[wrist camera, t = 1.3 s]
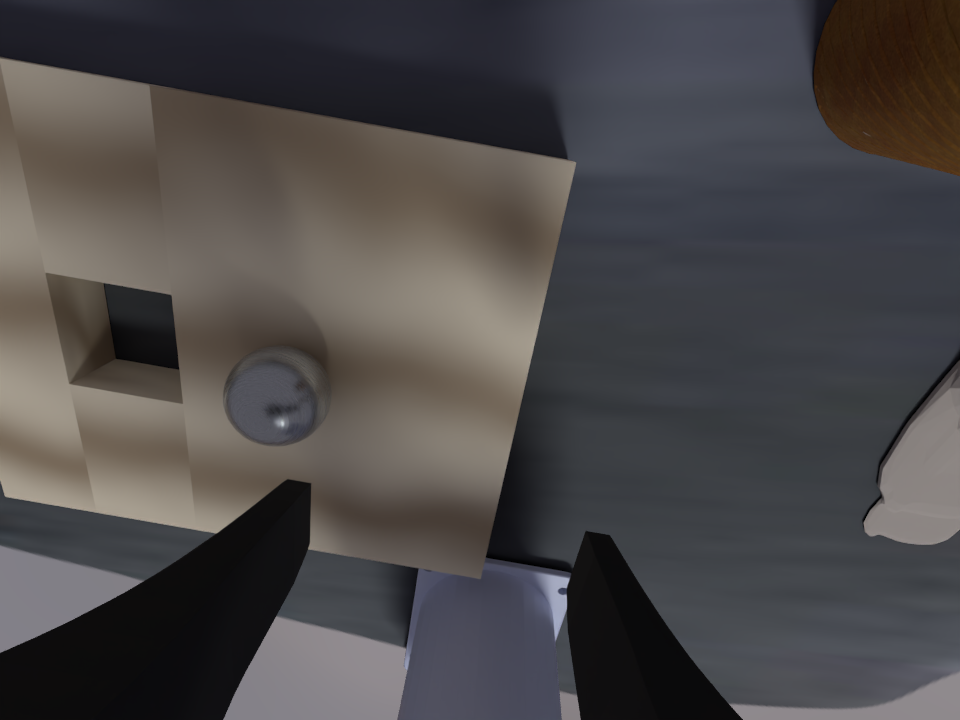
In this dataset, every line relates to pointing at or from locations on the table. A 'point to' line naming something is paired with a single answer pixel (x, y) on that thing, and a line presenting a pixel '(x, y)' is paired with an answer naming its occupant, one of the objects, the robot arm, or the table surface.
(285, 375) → the steel ball
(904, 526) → the beige bookend
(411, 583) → the table surface
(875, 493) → the table surface
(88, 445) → the birch plate
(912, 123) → the disposable coffee cup
